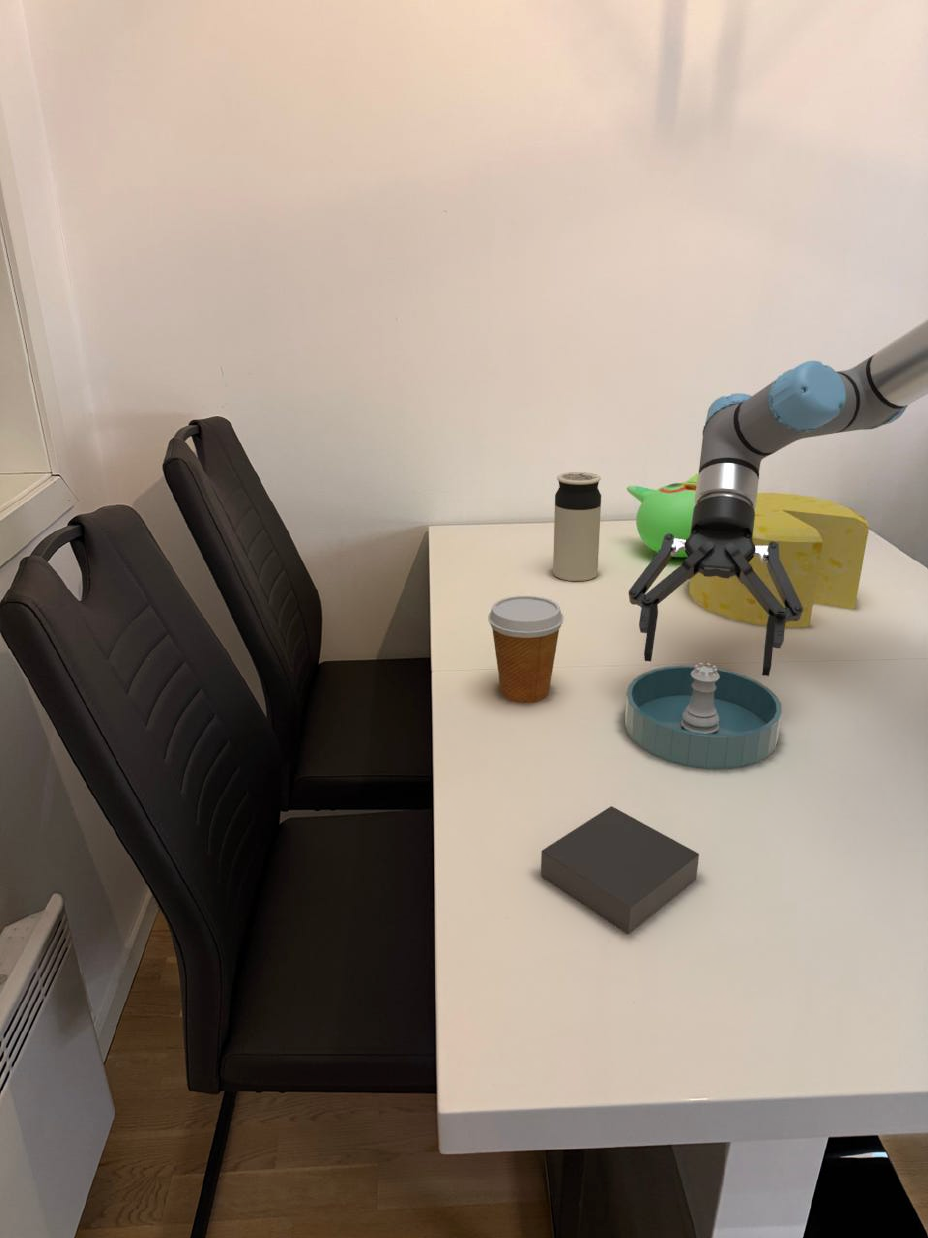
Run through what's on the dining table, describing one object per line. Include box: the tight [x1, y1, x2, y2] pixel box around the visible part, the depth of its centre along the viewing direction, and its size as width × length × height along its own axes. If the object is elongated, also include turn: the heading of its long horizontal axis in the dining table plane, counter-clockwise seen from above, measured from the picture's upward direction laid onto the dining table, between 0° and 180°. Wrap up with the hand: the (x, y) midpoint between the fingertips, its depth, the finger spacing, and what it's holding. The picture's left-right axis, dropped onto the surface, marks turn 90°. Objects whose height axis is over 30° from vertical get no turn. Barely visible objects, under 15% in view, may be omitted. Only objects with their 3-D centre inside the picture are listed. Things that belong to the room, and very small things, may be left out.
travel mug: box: [552, 471, 602, 582], centre depth 148 cm, size 8×8×18 cm
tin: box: [624, 664, 783, 770], centre depth 100 cm, size 18×18×4 cm
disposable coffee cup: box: [487, 595, 565, 704], centre depth 108 cm, size 10×10×12 cm
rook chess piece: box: [681, 662, 720, 734], centre depth 99 cm, size 4×4×8 cm
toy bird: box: [626, 472, 699, 559], centre depth 158 cm, size 18×17×15 cm
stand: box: [540, 805, 700, 935], centre depth 76 cm, size 10×10×3 cm
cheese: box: [688, 492, 870, 628], centre depth 137 cm, size 26×26×15 cm
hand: (705, 664), depth 99 cm, fingers open, 13 cm apart
